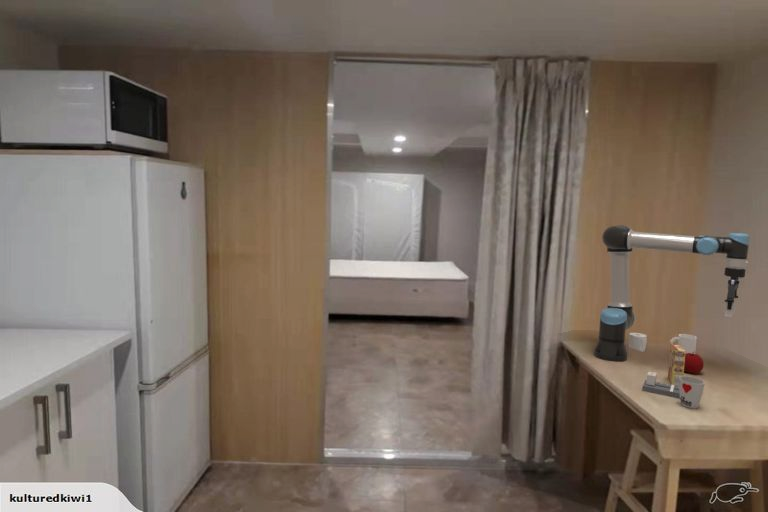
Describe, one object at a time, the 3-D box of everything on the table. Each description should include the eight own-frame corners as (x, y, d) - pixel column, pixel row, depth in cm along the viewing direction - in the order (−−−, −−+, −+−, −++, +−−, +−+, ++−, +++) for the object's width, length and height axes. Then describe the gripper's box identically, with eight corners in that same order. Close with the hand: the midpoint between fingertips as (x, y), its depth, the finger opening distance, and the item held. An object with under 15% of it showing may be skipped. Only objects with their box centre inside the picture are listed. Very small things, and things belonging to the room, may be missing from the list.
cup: (671, 401, 188) (674, 376, 187) (691, 401, 189) (694, 376, 188) (686, 410, 180) (689, 384, 179) (707, 409, 181) (709, 383, 180)
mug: (691, 353, 252) (693, 334, 251) (698, 358, 244) (700, 339, 242) (666, 350, 255) (667, 332, 253) (671, 355, 246) (673, 336, 245)
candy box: (683, 386, 204) (686, 351, 202) (671, 385, 205) (675, 349, 204) (677, 379, 212) (680, 345, 211) (666, 378, 214) (669, 344, 212)
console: (642, 390, 198) (643, 380, 198) (645, 384, 206) (646, 373, 205) (694, 401, 188) (695, 390, 188) (695, 394, 196) (696, 383, 195)
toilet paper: (643, 352, 251) (644, 339, 251) (624, 346, 262) (625, 333, 261) (654, 350, 255) (655, 337, 254) (635, 344, 265) (636, 332, 264)
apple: (704, 372, 223) (706, 351, 222) (700, 377, 216) (702, 355, 215) (681, 367, 229) (683, 346, 228) (676, 372, 222) (678, 350, 221)
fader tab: (646, 384, 199) (647, 374, 199) (647, 380, 203) (648, 371, 203) (654, 385, 198) (655, 376, 197) (655, 382, 202) (656, 372, 201)
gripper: (744, 271, 207) (737, 320, 209) (747, 266, 226) (741, 311, 229) (722, 269, 211) (716, 317, 214) (727, 264, 231) (722, 308, 233)
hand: (729, 314), depth 221 cm, fingers open, 13 cm apart
